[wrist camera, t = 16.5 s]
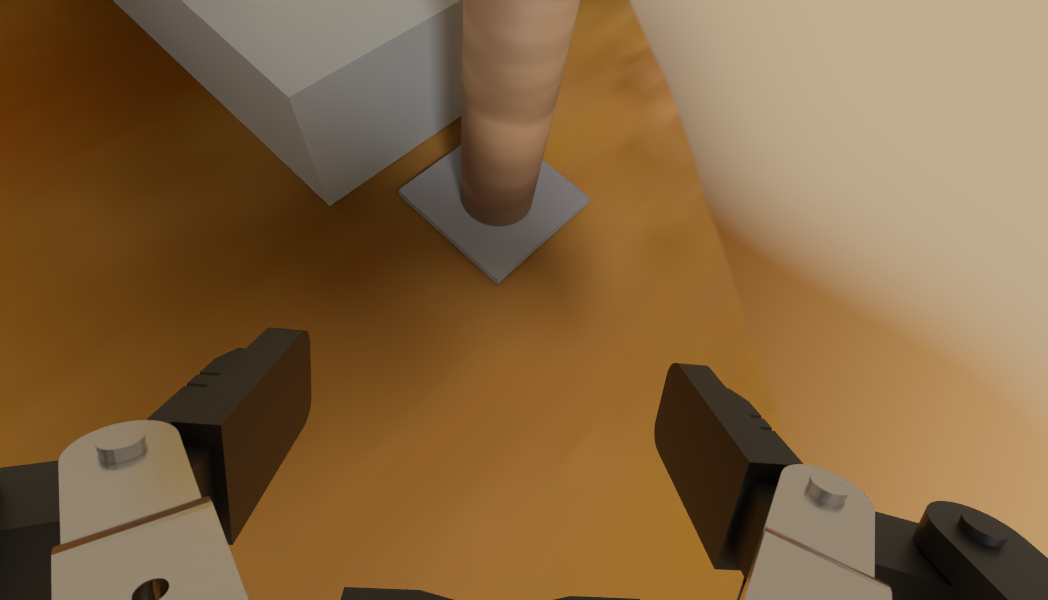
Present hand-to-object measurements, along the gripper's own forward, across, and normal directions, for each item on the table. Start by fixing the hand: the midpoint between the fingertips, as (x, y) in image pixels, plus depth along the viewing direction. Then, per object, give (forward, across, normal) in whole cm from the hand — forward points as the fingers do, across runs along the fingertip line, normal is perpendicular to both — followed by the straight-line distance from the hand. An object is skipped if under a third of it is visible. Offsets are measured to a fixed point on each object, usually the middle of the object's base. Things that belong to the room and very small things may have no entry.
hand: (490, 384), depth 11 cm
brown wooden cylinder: (+13, 0, -2) cm, 13 cm away
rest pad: (+13, 0, -2) cm, 13 cm away
